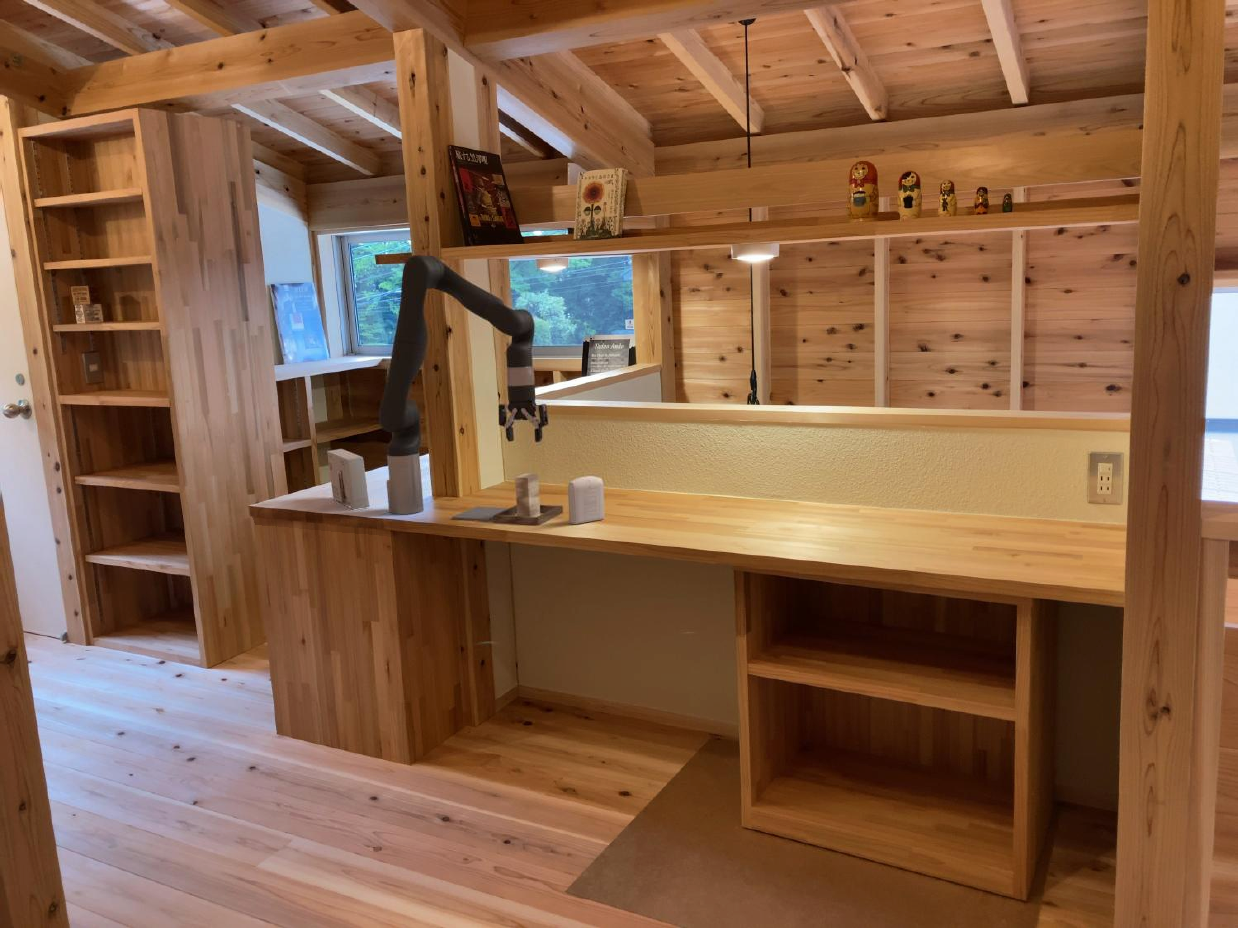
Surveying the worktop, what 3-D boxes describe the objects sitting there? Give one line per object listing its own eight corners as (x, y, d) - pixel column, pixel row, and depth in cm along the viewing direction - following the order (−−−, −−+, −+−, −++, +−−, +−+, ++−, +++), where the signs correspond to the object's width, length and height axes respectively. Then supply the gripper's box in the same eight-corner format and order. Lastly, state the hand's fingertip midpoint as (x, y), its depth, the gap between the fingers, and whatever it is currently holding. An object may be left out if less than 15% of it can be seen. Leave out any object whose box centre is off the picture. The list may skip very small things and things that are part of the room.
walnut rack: (493, 522, 266) (493, 515, 266) (519, 510, 280) (519, 503, 279) (538, 525, 261) (538, 518, 260) (563, 512, 274) (562, 505, 274)
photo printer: (598, 516, 268) (596, 473, 265) (607, 519, 264) (605, 475, 262) (566, 522, 262) (564, 478, 260) (575, 525, 259) (572, 480, 256)
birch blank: (517, 519, 268) (515, 477, 266) (527, 514, 274) (525, 473, 271) (530, 520, 267) (527, 478, 264) (540, 515, 272) (537, 473, 270)
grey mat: (451, 519, 272) (451, 517, 272) (477, 508, 284) (477, 506, 284) (488, 521, 267) (488, 519, 267) (512, 510, 280) (512, 508, 280)
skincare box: (331, 499, 306) (326, 450, 303) (347, 497, 309) (343, 448, 306) (352, 510, 289) (347, 458, 286) (370, 507, 292) (365, 456, 289)
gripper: (491, 384, 263) (495, 443, 266) (537, 384, 257) (541, 444, 260) (504, 381, 269) (508, 438, 272) (550, 381, 264) (553, 439, 267)
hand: (524, 441), depth 266 cm, fingers open, 8 cm apart
